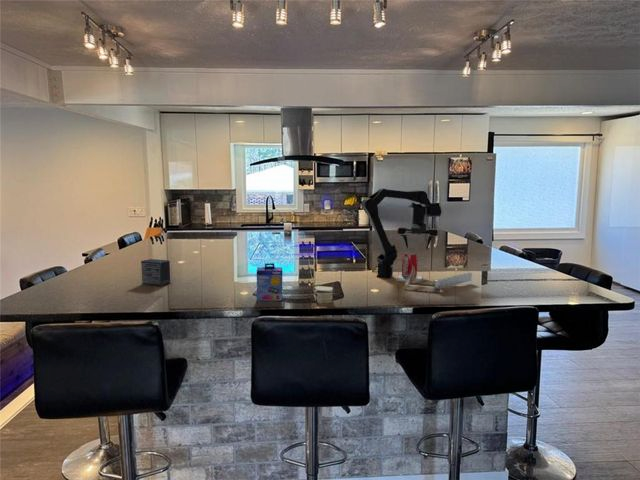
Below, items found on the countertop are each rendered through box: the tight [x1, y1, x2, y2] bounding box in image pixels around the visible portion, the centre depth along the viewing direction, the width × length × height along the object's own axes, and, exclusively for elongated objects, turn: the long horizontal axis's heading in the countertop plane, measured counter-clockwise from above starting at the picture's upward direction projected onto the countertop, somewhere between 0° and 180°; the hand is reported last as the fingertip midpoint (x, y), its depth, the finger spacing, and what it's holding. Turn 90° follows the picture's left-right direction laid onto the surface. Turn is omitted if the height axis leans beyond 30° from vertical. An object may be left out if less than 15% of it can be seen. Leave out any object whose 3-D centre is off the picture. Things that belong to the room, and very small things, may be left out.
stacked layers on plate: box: [313, 285, 334, 304], centre depth 163 cm, size 10×9×6 cm
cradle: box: [403, 278, 441, 294], centre depth 186 cm, size 15×14×2 cm
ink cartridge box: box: [256, 262, 283, 302], centre depth 165 cm, size 10×6×14 cm, turn 95°
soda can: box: [401, 251, 419, 279], centre depth 200 cm, size 7×7×12 cm
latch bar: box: [434, 272, 473, 290], centre depth 185 cm, size 2×26×4 cm, turn 129°
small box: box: [140, 258, 171, 287], centre depth 186 cm, size 11×6×10 cm, turn 71°
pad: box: [395, 274, 424, 282], centre depth 201 cm, size 11×11×1 cm
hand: (417, 249), depth 206 cm, fingers open, 9 cm apart
